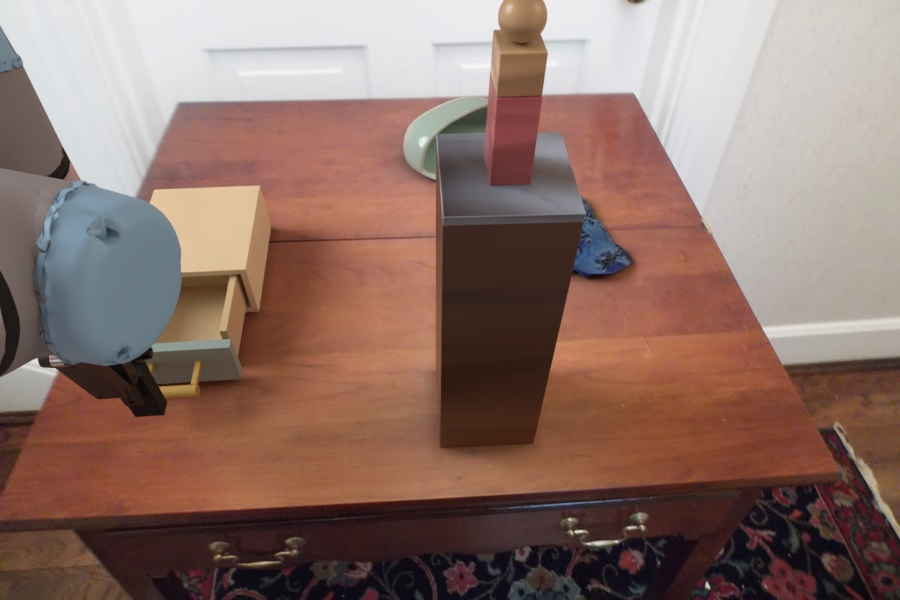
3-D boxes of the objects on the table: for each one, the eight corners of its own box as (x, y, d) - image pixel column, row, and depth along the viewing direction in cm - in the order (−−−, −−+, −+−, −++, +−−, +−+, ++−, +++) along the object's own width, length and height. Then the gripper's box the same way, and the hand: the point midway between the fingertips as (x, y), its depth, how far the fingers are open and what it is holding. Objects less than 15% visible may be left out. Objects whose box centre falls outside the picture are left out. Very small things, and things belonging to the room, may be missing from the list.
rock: (575, 192, 97) (577, 182, 95) (644, 266, 87) (648, 256, 85) (489, 220, 93) (490, 210, 91) (551, 302, 83) (553, 292, 81)
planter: (466, 69, 107) (540, 108, 99) (464, 108, 112) (535, 148, 104) (377, 111, 98) (452, 158, 90) (380, 151, 103) (451, 199, 95)
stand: (533, 443, 69) (586, 213, 45) (440, 448, 68) (442, 217, 44) (521, 367, 75) (560, 131, 52) (435, 370, 75) (435, 134, 51)
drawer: (236, 413, 70) (223, 382, 65) (117, 421, 69) (96, 390, 64) (256, 285, 82) (246, 252, 78) (155, 290, 81) (140, 257, 77)
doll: (530, 184, 47) (555, 4, 37) (489, 185, 47) (504, 5, 37) (522, 155, 49) (544, -21, 40) (484, 157, 49) (496, -20, 39)
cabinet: (259, 312, 80) (245, 269, 75) (146, 318, 79) (124, 275, 74) (271, 228, 91) (260, 185, 85) (171, 232, 90) (154, 189, 84)
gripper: (14, 169, 48) (127, 357, 66) (-61, 299, 40) (92, 475, 57) (118, 165, 49) (202, 352, 67) (65, 293, 40) (178, 469, 58)
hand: (151, 409), depth 62 cm, fingers closed
